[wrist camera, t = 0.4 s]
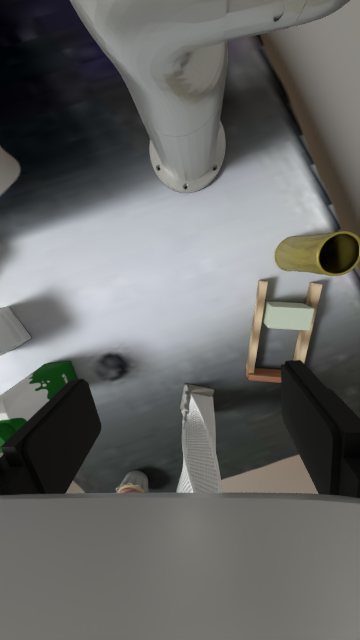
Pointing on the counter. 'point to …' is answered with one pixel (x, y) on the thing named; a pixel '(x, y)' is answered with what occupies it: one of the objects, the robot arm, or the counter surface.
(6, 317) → the supplement box
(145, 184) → the counter surface
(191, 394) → the skyscraper
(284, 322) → the block
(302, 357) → the track
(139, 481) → the cupcake
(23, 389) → the milk carton
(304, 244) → the vase
